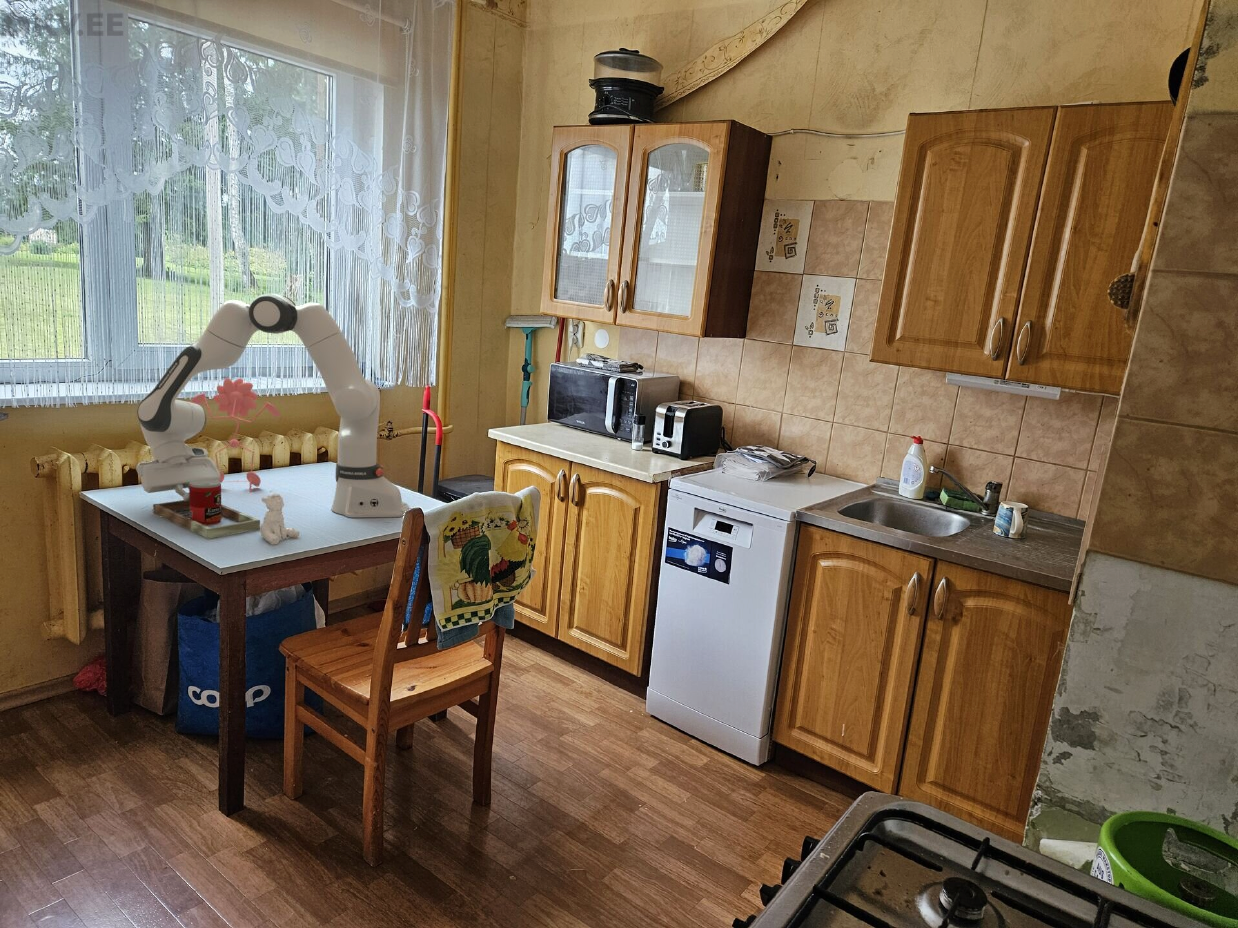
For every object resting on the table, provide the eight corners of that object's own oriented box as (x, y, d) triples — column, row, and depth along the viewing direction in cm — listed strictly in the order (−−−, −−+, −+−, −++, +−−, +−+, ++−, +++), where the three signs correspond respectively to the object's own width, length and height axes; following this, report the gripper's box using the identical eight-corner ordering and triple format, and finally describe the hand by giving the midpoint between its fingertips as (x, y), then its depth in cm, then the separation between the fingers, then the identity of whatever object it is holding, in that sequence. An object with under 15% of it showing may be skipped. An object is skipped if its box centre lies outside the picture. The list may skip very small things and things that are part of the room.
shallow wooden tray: (153, 513, 226) (152, 504, 226) (203, 505, 238) (203, 497, 237) (208, 538, 209) (208, 529, 209) (260, 529, 221) (260, 520, 220)
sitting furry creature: (273, 546, 208) (273, 500, 206) (248, 539, 211) (247, 495, 209) (301, 537, 217) (301, 493, 214) (276, 531, 220) (276, 488, 217)
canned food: (209, 526, 219) (208, 486, 217) (183, 522, 221) (182, 483, 218) (228, 519, 226) (227, 481, 224) (202, 515, 228) (201, 477, 226)
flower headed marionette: (279, 492, 257) (278, 382, 251) (188, 492, 249) (185, 378, 243) (282, 482, 272) (282, 377, 265) (196, 482, 263) (194, 373, 257)
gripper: (137, 456, 221) (155, 498, 217) (211, 448, 237) (230, 488, 233) (130, 469, 224) (148, 511, 221) (204, 461, 241) (222, 499, 237)
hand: (191, 499), depth 227 cm, fingers closed
